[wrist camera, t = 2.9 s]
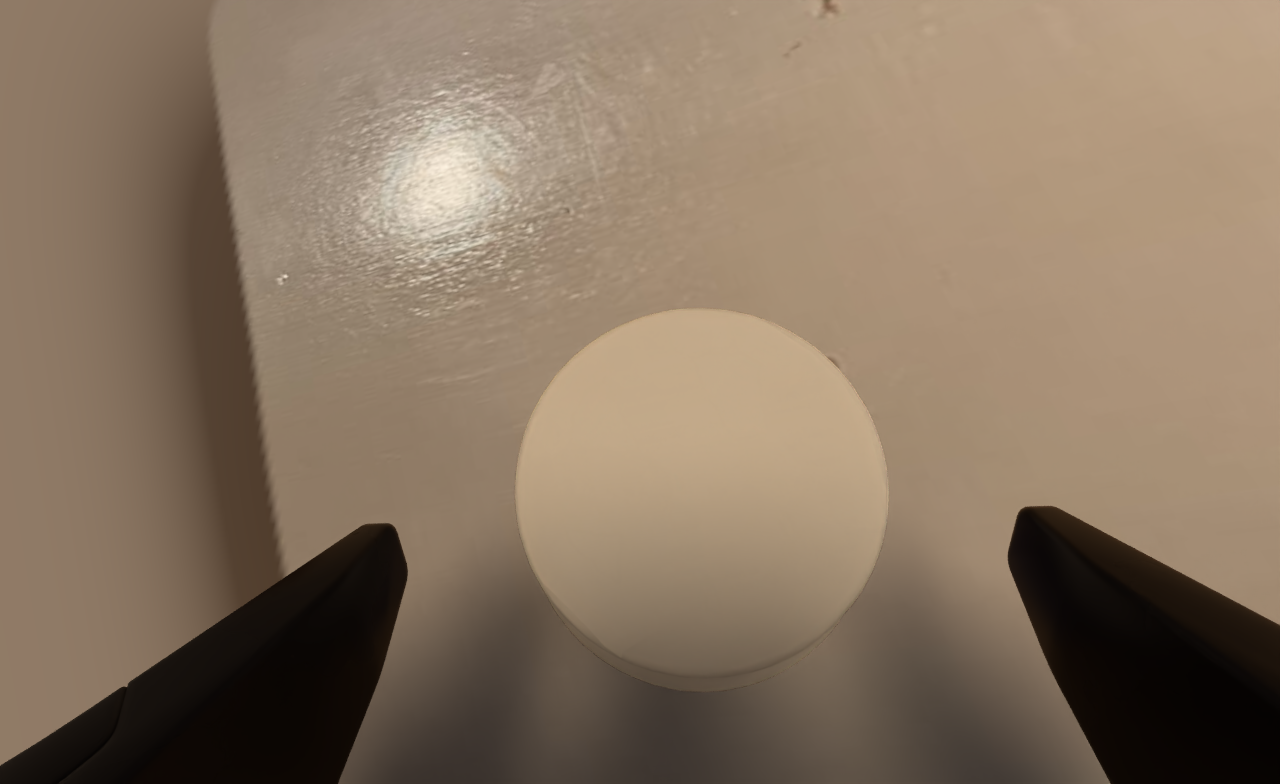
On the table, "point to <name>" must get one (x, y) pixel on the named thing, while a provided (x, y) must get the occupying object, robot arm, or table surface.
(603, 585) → the pill bottle
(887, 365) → the table surface
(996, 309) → the table surface
